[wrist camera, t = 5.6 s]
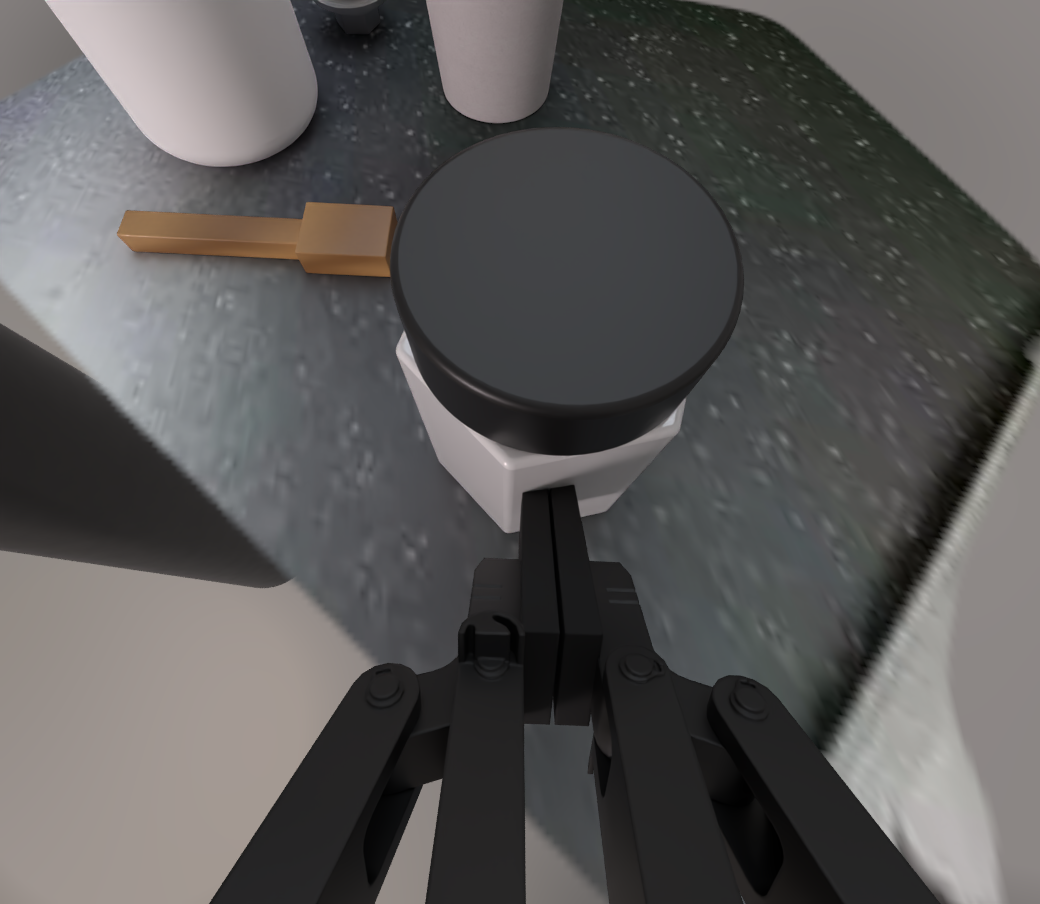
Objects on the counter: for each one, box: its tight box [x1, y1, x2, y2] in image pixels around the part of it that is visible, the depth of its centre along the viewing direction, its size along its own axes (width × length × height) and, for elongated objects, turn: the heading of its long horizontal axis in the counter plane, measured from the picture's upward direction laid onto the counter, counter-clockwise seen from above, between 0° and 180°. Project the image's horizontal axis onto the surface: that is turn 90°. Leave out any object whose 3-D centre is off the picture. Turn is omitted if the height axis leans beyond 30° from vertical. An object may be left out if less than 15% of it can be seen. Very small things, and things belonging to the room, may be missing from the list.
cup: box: [45, 0, 318, 167], centre depth 24 cm, size 10×10×10 cm
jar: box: [390, 127, 744, 533], centre depth 17 cm, size 9×8×12 cm
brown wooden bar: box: [117, 202, 398, 277], centre depth 25 cm, size 13×3×2 cm, turn 88°
